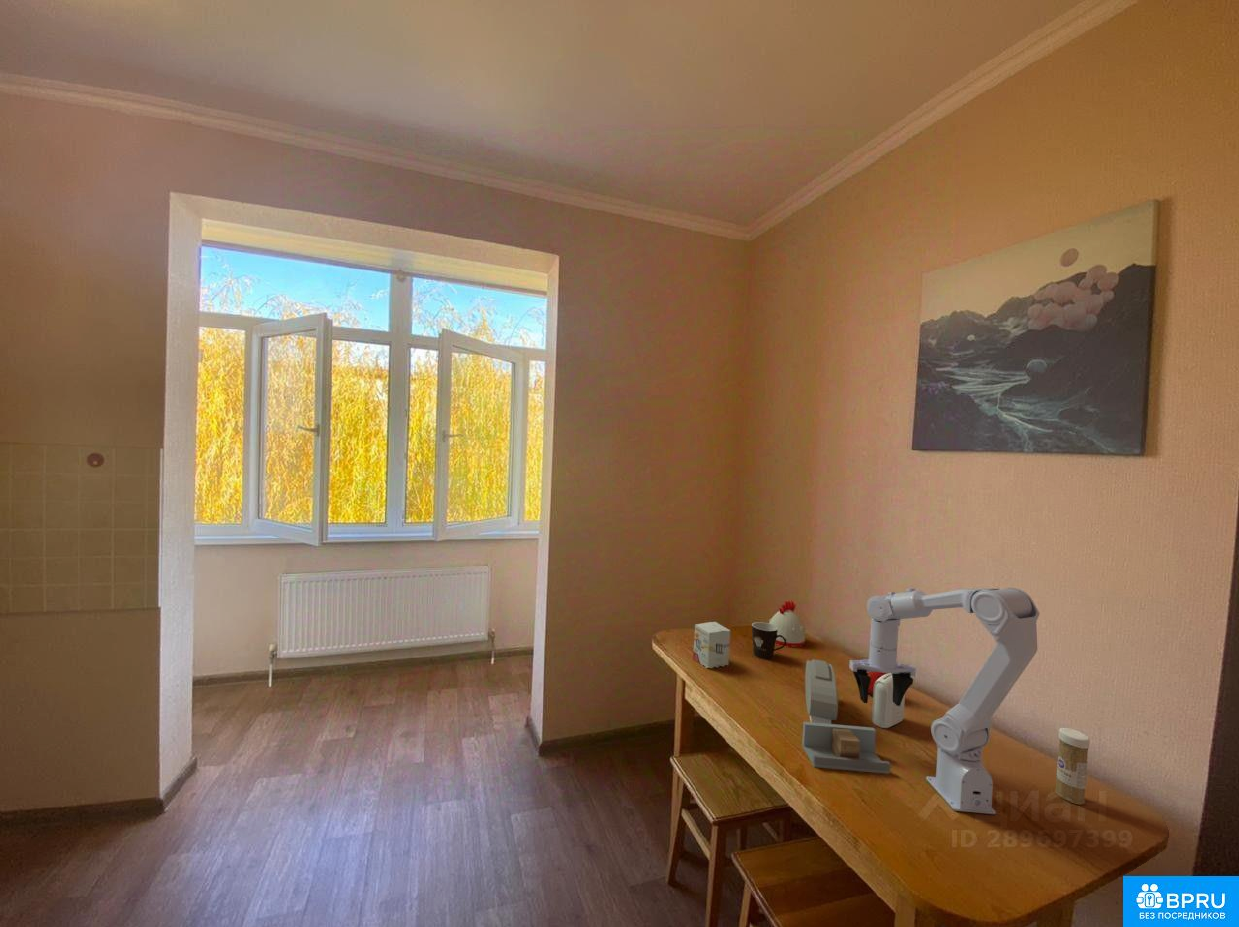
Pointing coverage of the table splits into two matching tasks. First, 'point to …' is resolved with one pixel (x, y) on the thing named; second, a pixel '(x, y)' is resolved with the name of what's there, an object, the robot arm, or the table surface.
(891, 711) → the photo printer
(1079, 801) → the sprinkles bottle
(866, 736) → the wall shelf
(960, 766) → the robot arm
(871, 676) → the red fruit
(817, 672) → the alarm clock
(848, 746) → the cabinet block
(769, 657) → the coffee mug
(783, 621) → the white and red dome
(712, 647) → the ink box
